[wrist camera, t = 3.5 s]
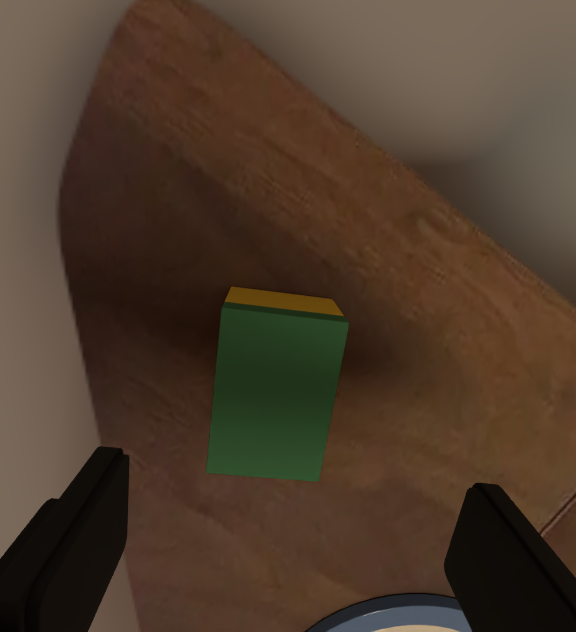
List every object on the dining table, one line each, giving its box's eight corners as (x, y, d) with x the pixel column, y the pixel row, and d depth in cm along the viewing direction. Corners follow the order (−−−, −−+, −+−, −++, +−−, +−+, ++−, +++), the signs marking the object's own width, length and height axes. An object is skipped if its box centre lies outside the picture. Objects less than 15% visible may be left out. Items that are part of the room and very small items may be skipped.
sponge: (308, 430, 20) (318, 482, 17) (217, 422, 20) (205, 473, 16) (332, 298, 18) (349, 322, 15) (230, 286, 18) (221, 307, 14)
